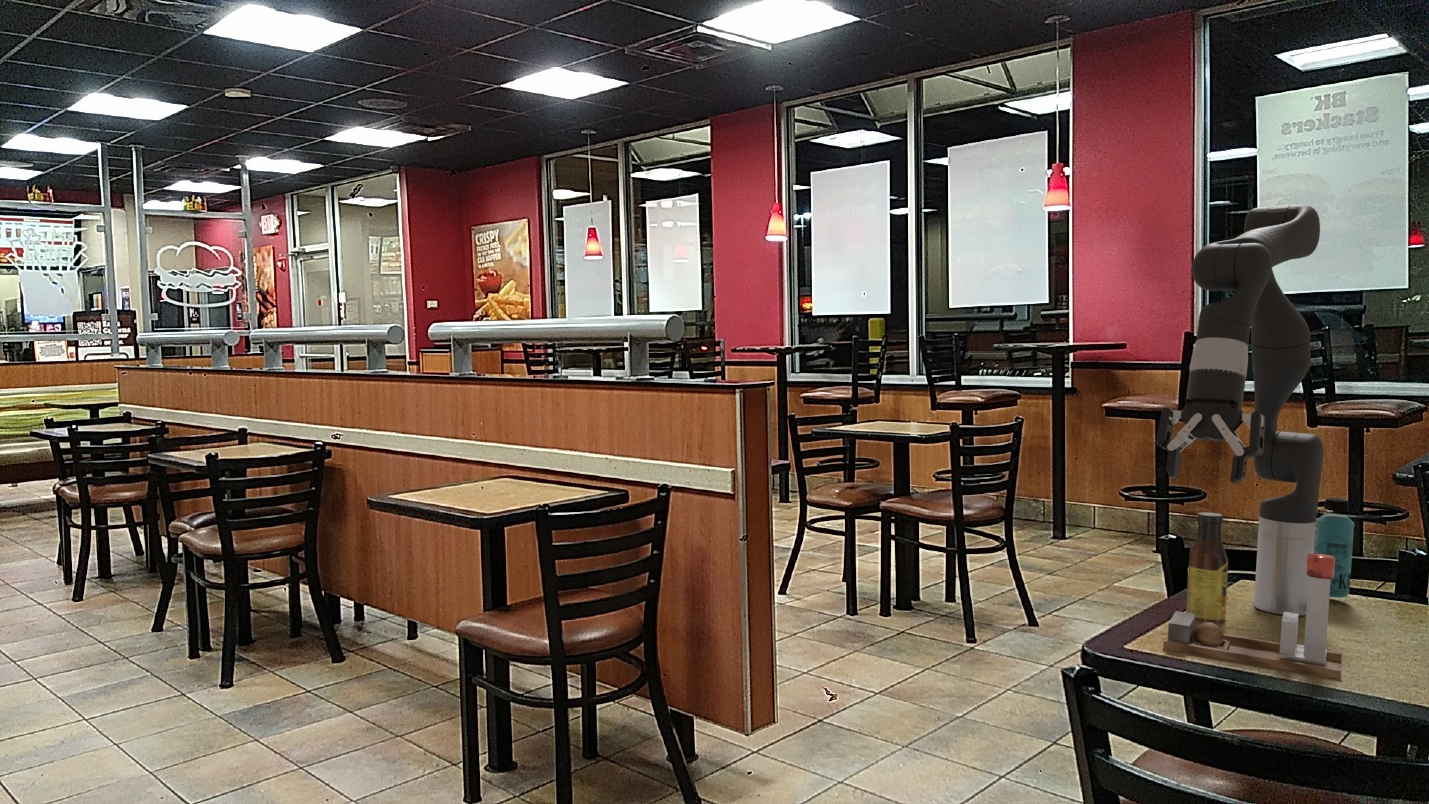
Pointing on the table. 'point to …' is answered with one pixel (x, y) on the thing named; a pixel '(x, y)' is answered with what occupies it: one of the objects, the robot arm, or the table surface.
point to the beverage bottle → (1336, 544)
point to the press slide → (1311, 615)
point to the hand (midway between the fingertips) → (1203, 480)
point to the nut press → (1243, 649)
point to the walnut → (1209, 634)
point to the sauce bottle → (1208, 571)
